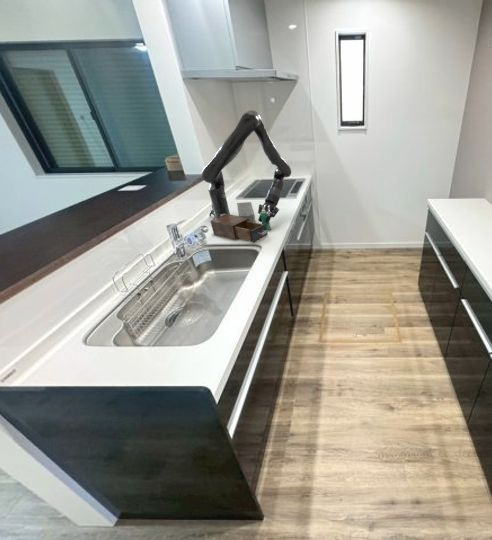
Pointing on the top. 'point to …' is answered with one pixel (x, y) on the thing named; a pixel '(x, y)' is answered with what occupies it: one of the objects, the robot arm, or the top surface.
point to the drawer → (251, 231)
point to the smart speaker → (246, 210)
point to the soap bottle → (263, 218)
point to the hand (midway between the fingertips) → (263, 222)
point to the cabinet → (227, 225)
